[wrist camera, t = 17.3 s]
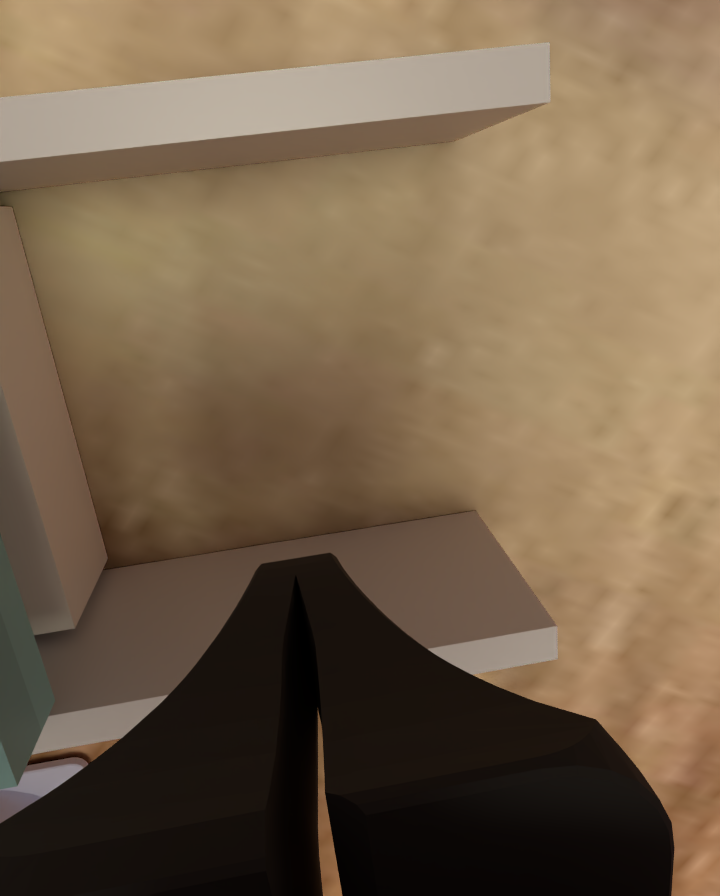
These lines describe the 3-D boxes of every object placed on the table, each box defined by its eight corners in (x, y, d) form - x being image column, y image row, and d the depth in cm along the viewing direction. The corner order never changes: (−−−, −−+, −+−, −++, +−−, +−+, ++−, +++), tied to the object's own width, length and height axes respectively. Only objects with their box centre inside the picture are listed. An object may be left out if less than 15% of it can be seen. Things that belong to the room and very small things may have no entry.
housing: (477, 535, 24) (557, 658, 17) (-228, 651, 22) (-444, 840, 15) (451, 102, 19) (549, 41, 12) (-450, 199, 17) (-906, 188, 10)
